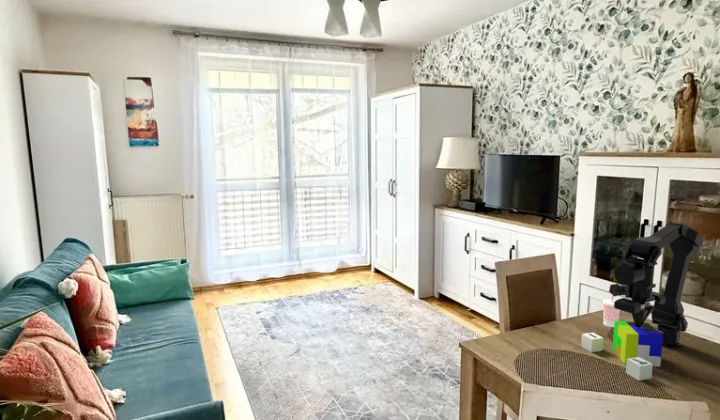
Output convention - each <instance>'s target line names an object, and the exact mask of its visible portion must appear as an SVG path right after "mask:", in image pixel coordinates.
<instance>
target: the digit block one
mask: <svg viewBox="0 0 720 420" xmlns="http://www.w3.org/2000/svg"><path fill="white" fill-rule="evenodd" d="M580 347H582V348H583V349H585V350H586V351H588V352H590V353H595V352H601V351H603V350H604V349H603V347H604V337H603V336H601V335H599V334H597V333H596V332H585V333H582V334H581V341H580Z"/></svg>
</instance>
